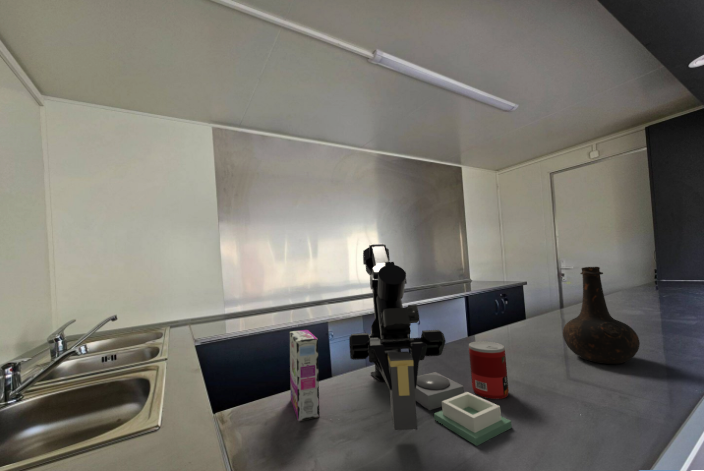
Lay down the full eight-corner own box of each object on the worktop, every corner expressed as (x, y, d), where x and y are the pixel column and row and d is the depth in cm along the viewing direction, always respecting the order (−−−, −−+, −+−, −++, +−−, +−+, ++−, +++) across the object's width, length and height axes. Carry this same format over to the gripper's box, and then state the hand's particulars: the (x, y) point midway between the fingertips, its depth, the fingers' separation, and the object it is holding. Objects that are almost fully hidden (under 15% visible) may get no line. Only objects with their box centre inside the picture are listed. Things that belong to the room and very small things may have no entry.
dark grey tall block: (391, 417, 54) (387, 352, 56) (412, 416, 54) (408, 351, 56) (394, 432, 50) (390, 360, 51) (418, 431, 50) (413, 359, 51)
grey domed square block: (403, 392, 71) (402, 377, 72) (436, 383, 75) (435, 370, 76) (429, 410, 62) (428, 393, 62) (464, 399, 66) (463, 384, 66)
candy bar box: (321, 417, 61) (318, 338, 63) (297, 423, 60) (295, 341, 61) (310, 395, 72) (308, 328, 73) (290, 400, 70) (288, 330, 72)
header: (434, 419, 58) (433, 400, 59) (467, 406, 63) (466, 388, 64) (476, 445, 50) (474, 423, 50) (511, 427, 54) (509, 407, 55)
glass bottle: (580, 368, 81) (568, 268, 84) (556, 349, 98) (546, 267, 101) (660, 372, 76) (644, 266, 79) (619, 351, 93) (608, 265, 96)
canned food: (513, 400, 65) (509, 350, 66) (476, 399, 66) (471, 349, 67) (503, 386, 72) (499, 341, 73) (469, 385, 74) (466, 340, 75)
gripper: (347, 293, 58) (349, 370, 46) (439, 289, 58) (464, 364, 46) (349, 324, 66) (351, 398, 54) (431, 321, 66) (451, 393, 54)
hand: (402, 388), depth 52 cm, fingers closed on dark grey tall block, 4 cm apart
